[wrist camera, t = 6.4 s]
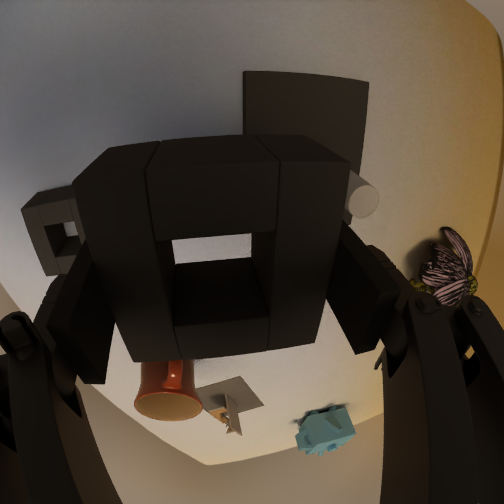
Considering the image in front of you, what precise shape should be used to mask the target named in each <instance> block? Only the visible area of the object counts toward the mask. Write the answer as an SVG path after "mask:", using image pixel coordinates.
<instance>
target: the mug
mask: <svg viewBox="0 0 504 504" xmlns="http://www.w3.org/2000/svg"><path fill="white" fill-rule="evenodd" d="M193 362H194V360H183V359H182V360H176V361H159V362H141V384H140V388H139V391H138V394H137V396H136V399H135V401H134V406H135V409H136V410H137V411H138V412H139V413H141V414H142V415H144V416H146V417H149V418H152V419H156V420H162V421H181V420H186V419H190V418H193V417H195V416H197V415H198V414H200V412H201V411H202V409H203V405H202V403H201V400H200V398H199V396H198V394H197V392H196V389H195V384H194V364H193Z"/></svg>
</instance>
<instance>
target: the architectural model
mask: <svg viewBox="0 0 504 504" xmlns="http://www.w3.org/2000/svg"><path fill="white" fill-rule="evenodd" d="M196 392H197V394H198V396H199V398H200V400H201V403H202V405H203V409H204V410H206V411H207V412H208V413H210V414H211V415H212V416H214V417H215V418H217V419H218V420H219V421H221V422H222V423H225V424H227V423H228V424H229V423H230V424H229V425H228V424H227V425H228V426H229V428H228V430H227V433H231V432H237V433H238V434H239V435H241V436H242V432H241V427H240V422H239V417H238V413H240V412H243V411H247V410H250V409H254V408H257V407H261V406H264V404H263V403H262V402H261V401H260V400H259V399H258V397H257V396H256V395H255V394H254V393H253V391H252V390H251V389H250V388H249V386H248V385H247V384H246V383H245V382H244V380H243V379H242V378H241V377H240V376H239V377H236V378H233V379H229V380H226V381H223V382H219V383H216V384H212V385H209V386H205V387H201V388H197V389H196ZM226 416H228V417H229V419H228V418H227V417H226ZM226 422H227V423H226ZM226 427H227V426H226Z"/></svg>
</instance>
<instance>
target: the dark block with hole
mask: <svg viewBox="0 0 504 504" xmlns="http://www.w3.org/2000/svg"><path fill="white" fill-rule="evenodd" d="M350 169H351V162H349V161H347V160H346V159H344V158H343V157H341V156H339V155H338V154H336V153H335V152H333V151H331V150H330V149H328V148H326V147H325V146H323V145H321V144H320V143H318V142H316V141H314V140H313V139H311V138H309V137H307V136H306V135H279V134H261V135H254V136H253V135H225V136H206V137H192V138H180V139H170V140H162V141H161V142H160V141H152V142H144V143H136V144H129V145H123V146H116V147H110V148H108V149H107V150H105V151H104V152H103V153H102V154H101V155H100V156H99V157H98V158H97V159H95V160H94V161H93V162H92V163H91V164H90V165H89V166H88V167H87V168H86V169H85V170H84V171H83V172H82V173H81V174H80V175H78V176H77V177H76V178H75V179H74V180H73V182H72V186H73V190H74V195H75V199H76V203H77V208H78V212H79V216H80V219H81V223H82V227H83V230H84V234H85V237H86V241H87V244H88V248H89V251H90V254H91V257H92V260H93V262H94V265H95V268H96V271H97V274H98V276H99V279H100V282H101V285H102V288H103V290H104V293H105V296H106V298H107V301H108V304H109V306H110V309H111V311H112V314H113V316H114V319H115V322H116V325H117V327H118V329H119V332H120V334H121V336H122V339H123V341H124V343H125V345H126V347H127V350H128V352H129V354H130V356H131V358H132V360H133V362H159V361H176V360H182V359H183V360H194V359H205V358H215V357H225V356H234V355H242V354H249V353H257V352H264V351H267V350H268V351H269V350H276V349H282V348H288V347H294V346H300V345H306V344H311V343H315V340H316V336H317V332H318V329H319V325H320V321H321V317H322V313H323V309H324V305H325V301H326V297H327V292H328V288H329V284H330V279H331V275H332V270H333V265H334V261H335V256H336V251H337V246H338V241H339V236H340V230H341V225H342V219H343V214H344V208H345V202H346V196H347V190H348V183H349V176H350ZM248 233H252V240H251V257H246V258H236V259H225V260H213V261H202V262H191V263H180V264H176V265H175V259H174V253H173V246H172V240H177V239H188V238H200V237H211V236H223V235H235V234H248Z"/></svg>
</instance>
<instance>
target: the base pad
mask: <svg viewBox="0 0 504 504" xmlns="http://www.w3.org/2000/svg"><path fill="white" fill-rule="evenodd" d="M368 91H369V82H365V81H360V80H354V79H347V78H341V77H333V76H325V75H316V74H305V73H292V72H274V71H243V135H253V136H254V135H261V134H279V135H306V136H307V137H309V138H311V139H313V140H314V141H316V142H318V143H320V144H321V145H323V146H325V147H326V148H328V149H330V150H331V151H333V152H335V153H336V154H338V155H339V156H341V157H343V158H344V159H346V160H347V161H349V162H351V169H350V176H349V183H348V190H347V196H346V202H345V208H344V214H343V220H344V221H345V222H346V223H347V225H350V224H351V220H352V215H353V216H354V217H356V218H364V217H367V216H369V215H370V214H372V213H373V212H374V210H375V209H376V208H377V205H378V202H379V194H378V191H377V190H376V188H375V187H373V186H372V185H371V184H369V183H368V182H367V181H365V180H364V179H363V178H361V177H360V176H359V172H360V165H361V158H362V150H363V142H364V134H365V125H366V115H367V104H368Z"/></svg>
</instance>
